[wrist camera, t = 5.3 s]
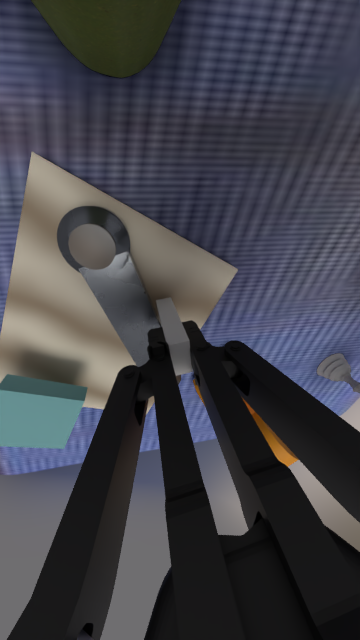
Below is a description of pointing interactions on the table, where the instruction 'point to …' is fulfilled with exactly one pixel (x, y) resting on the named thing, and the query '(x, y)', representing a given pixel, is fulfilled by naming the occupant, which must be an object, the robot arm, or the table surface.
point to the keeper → (38, 411)
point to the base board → (76, 296)
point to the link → (115, 281)
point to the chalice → (337, 370)
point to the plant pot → (110, 31)
